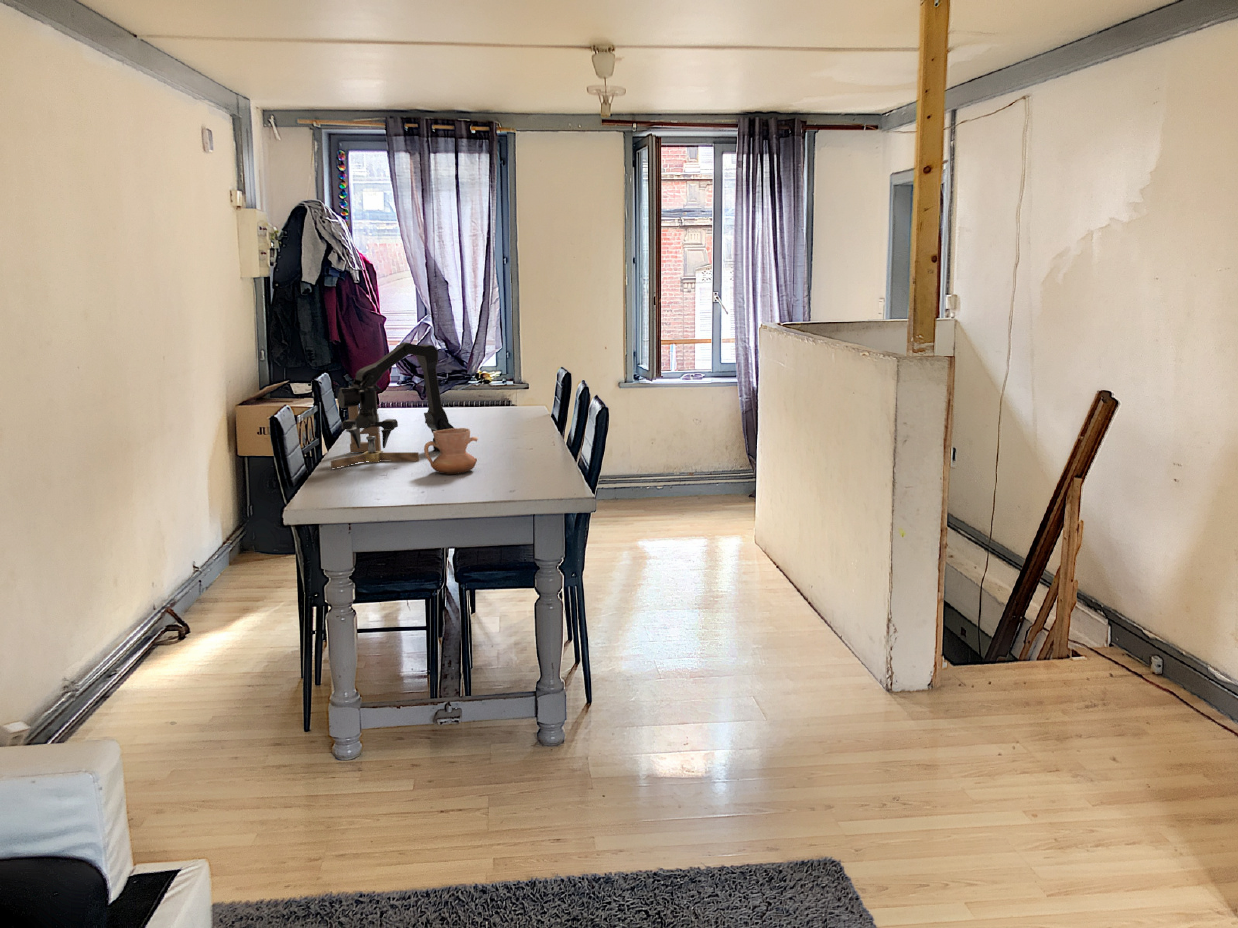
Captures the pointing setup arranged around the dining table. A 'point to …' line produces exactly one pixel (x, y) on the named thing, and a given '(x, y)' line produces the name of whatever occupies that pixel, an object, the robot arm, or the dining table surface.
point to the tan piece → (376, 458)
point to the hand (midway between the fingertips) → (371, 448)
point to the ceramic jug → (452, 451)
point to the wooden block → (371, 431)
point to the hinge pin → (371, 444)
